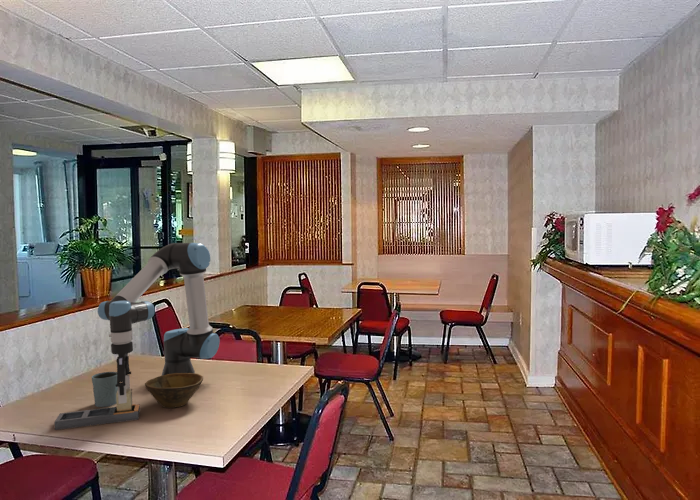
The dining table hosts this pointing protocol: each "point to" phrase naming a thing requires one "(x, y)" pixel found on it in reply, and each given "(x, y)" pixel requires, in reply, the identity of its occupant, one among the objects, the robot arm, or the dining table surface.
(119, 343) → the robot arm
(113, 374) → the grey-green cup
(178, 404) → the bowl
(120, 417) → the grey compartment tray
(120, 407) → the beige recessed-panel block
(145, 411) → the dining table surface
